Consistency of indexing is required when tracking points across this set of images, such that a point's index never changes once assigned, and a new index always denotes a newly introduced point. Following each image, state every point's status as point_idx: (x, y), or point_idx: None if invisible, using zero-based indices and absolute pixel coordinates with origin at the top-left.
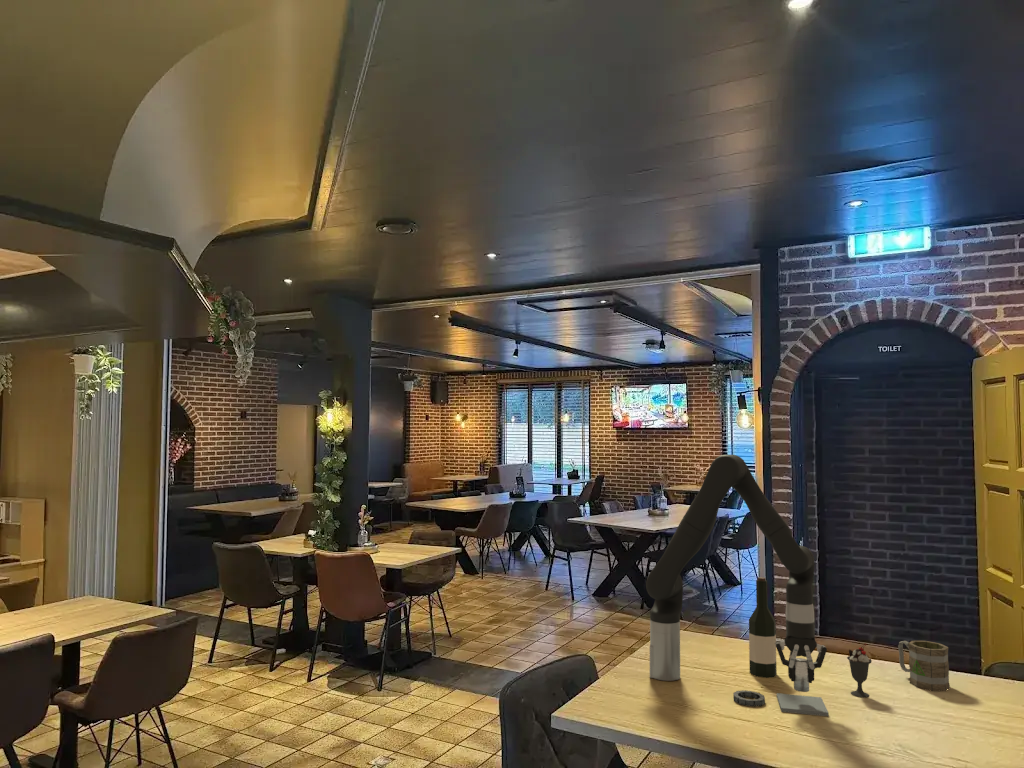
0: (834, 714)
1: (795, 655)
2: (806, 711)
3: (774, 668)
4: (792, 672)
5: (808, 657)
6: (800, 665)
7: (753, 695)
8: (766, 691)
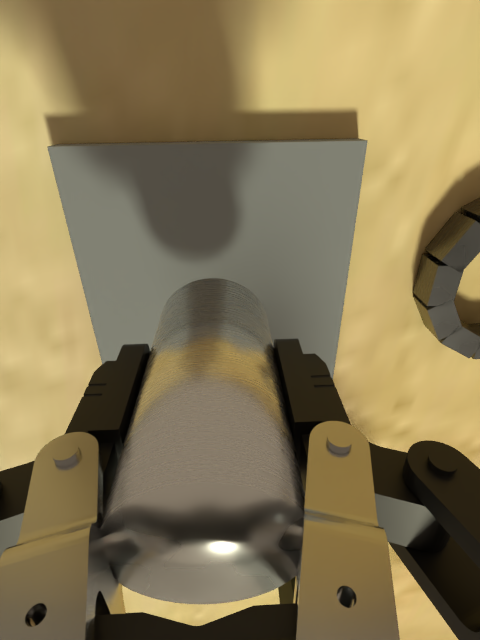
0: (27, 200)
1: (320, 609)
2: (197, 143)
3: (294, 587)
4: (305, 387)
5: (56, 600)
6: (222, 439)
7: (467, 326)
8: (359, 421)
